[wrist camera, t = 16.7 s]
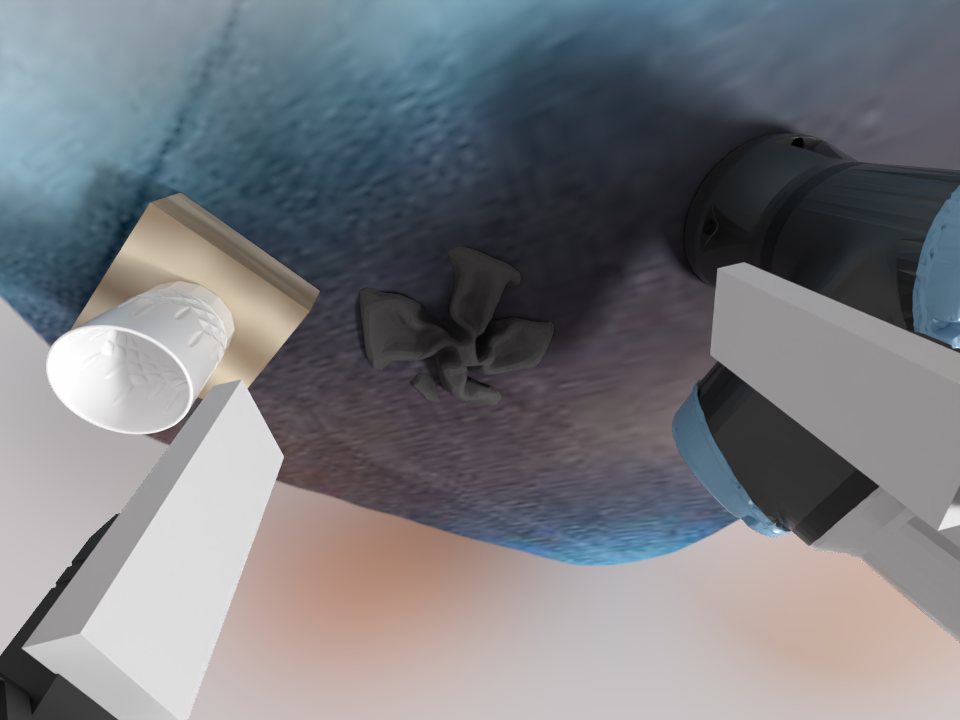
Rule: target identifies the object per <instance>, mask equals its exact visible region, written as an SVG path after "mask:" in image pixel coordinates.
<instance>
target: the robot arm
mask: <svg viewBox="0 0 960 720" xmlns="http://www.w3.org/2000/svg"><path fill="white" fill-rule="evenodd" d="M684 245H685V252H686V256H687V259H688V262H689V264H690V266H691V268H692V270H693V271H694V273H695V274H696V275H697V276H698V277H699V278H700V279H701V280H702V281H703V282H705V283H706V284H708V285H710V286H711V287H713V288H715V289H716V292H715V304H714V316H713V328H712V340H711V351H710V355H711V356H712V357H714V358H715V359H716V360H718V362H717V363H716V364H715V365H714V366H713V368H712V369H711V370H710V371H709V372H708V373H707V375H706V376H705V377H704V378H703V379H702V380H699V381H698V382H697V383H696V384H695V385H694V387H693V391H692V393H691V394H690V395H689V397H688V398H687V399H686V401H685V402H684V403H683V405H682V406H681V407H680V409H679V410H678V411H677V413H676V414H675V416H674V419H673V422H672V432H673V438H674V440H675V443H676V446H677V448H678V450H679V452H680V454H681V456H682V458H683V459H684V461H685V462H686V464H687V466H688V467H689V468H690V470H691V471H692V472H693V474H694V475H695V476H696V478H697V479H698V480H699V481H700V482H701V484H702V485H703V486H704V487H705V488H706V489H707V490H708V491H709V493H710V494H711V495H712V496H713V497H714V498H715V499H716V500H717V501H718V502H719V503H720V504H721V505H722V506H723V507H724V508H726V509H727V510H728V511H729V512H730V513H731V514H733V515H734V516H735V517H737V518H741V519H742V520H743V521H744V522H745V523H746V524H747V526H748V527H750V528H752V529H753V530H755V531H756V532H758V533H760V534H763V535H766V536H769V537H778V536H780V535H787V534H788V533H789V532H790V531H792V532H794V533H795V534H796V535H797V536H798V537H799V538H800V539H802V540H803V541H804V542H805V543H806V544H807V545H809V546H810V547H811V548H812V549H814V550H818V551H829V552H837V553H845V554H849V555H851V556H855V557H857V558H858V559H860V561H862V562H863V563H864V564H865V565H867V566H868V567H869V568H870V569H871V570H873V571H874V572H875V573H876V574H877V575H879V576H880V577H881V578H882V579H884V580H885V581H886V582H887V583H888V584H890V585H891V586H892V587H893V588H894V589H896V590H897V591H898V592H899V593H900V594H902V595H903V596H904V597H905V598H907V599H908V600H909V601H910V602H912V603H913V604H914V605H915V606H916V607H917V608H919V609H920V610H921V611H922V612H924V613H925V614H926V615H927V616H928V617H930V618H931V619H932V620H933V621H934V622H936V623H937V624H938V625H939V626H940V627H942V628H943V629H944V630H945V631H947V632H948V633H949V634H950V635H951V636H953V637H954V638H955V639H956V640H957V641H959V642H960V170H948V169H936V168H923V167H911V166H899V165H887V164H875V163H863V162H858V161H857V160H855V159H853V158H852V157H850V156H848V155H847V154H845V153H844V152H842V151H840V150H839V149H837V148H835V147H834V146H832V145H830V144H829V143H827V142H825V141H824V140H822V139H819V138H817V137H813V136H809V135H804V134H785V133H778V134H770V135H765V136H761V137H758V138H756V139H753V140H751V141H749V142H746V143H745V144H743V145H741V146H739V147H738V148H736V149H735V150H733V151H732V152H731V153H729V154H728V155H727V156H726V157H724V158H723V159H722V160H721V161H720V162H719V163H718V164H717V165H716V166H715V167H714V168H713V170H712V171H711V172H710V173H709V174H708V176H707V177H706V178H705V180H704V181H703V183H702V184H701V186H700V187H699V189H698V191H697V193H696V195H695V197H694V199H693V201H692V203H691V206H690V209H689V212H688V215H687V219H686V224H685V231H684ZM283 458H284V456H283V454H282V452H281V451H280V449H279V447H278V445H277V443H276V441H275V439H274V438H273V436H272V434H271V432H270V430H269V428H268V426H267V425H266V423H265V421H264V419H263V417H262V415H261V413H260V412H259V410H258V408H257V406H256V404H255V402H254V400H253V399H252V397H251V395H250V393H249V391H248V389H247V387H246V386H245V384H244V382H243V380H242V379H241V380H236V381H232V382H228V383H223V384H219V385H215V386H213V387H212V388H211V390H210V391H209V392H208V394H207V395H206V396H205V398H204V399H203V400H202V402H201V403H200V405H199V406H198V407H197V409H196V410H195V411H194V413H193V414H192V416H191V417H190V418H189V420H188V421H187V422H186V424H185V425H184V427H183V428H182V429H181V431H180V432H179V433H178V435H177V436H176V437H175V439H174V440H173V442H172V443H171V444H170V446H169V447H168V448H167V450H166V451H165V453H164V454H163V455H162V457H161V458H160V459H159V461H158V462H157V464H156V465H155V466H154V468H153V469H152V471H151V472H150V473H149V474H148V476H147V477H146V479H145V480H144V481H143V483H142V484H141V486H140V487H139V488H138V490H137V491H136V492H135V494H134V495H133V496H132V498H131V499H130V501H129V502H128V503H127V505H126V506H125V507H124V509H123V510H122V512H121V513H119V514H116V515H115V516H114V517H112V518H111V519H110V520H109V521H108V522H107V523H106V524H105V525H104V526H102V528H100V529H99V530H98V531H97V532H96V533H95V534H94V535H92V536H91V537H90V538H89V540H88V541H87V542H86V544H85V545H84V546H83V548H82V549H81V550H80V552H79V553H78V554H77V555H76V557H75V558H74V559H73V561H72V566H70V567H67V569H66V570H65V572H64V573H63V574H62V575H61V577H60V578H59V579H58V581H57V582H56V587H55V588H52V589H51V590H50V591H49V593H48V594H47V595H46V596H45V598H44V599H43V600H42V602H41V603H40V604H39V606H38V607H37V608H36V609H35V611H34V612H33V614H32V615H31V616H30V617H29V619H28V620H27V621H26V623H25V624H24V625H23V627H22V628H21V629H20V631H19V632H18V633H17V634H16V636H15V637H14V638H13V640H12V641H11V642H10V644H9V645H8V646H7V648H6V649H5V650H4V652H3V653H2V654H1V656H0V720H188V718H189V715H190V713H191V710H192V707H193V705H194V701H195V699H196V696H197V693H198V691H199V688H200V685H201V682H202V680H203V677H204V674H205V672H206V669H207V666H208V664H209V661H210V658H211V655H212V652H213V650H214V647H215V644H216V641H217V639H218V636H219V633H220V631H221V628H222V625H223V622H224V620H225V617H226V614H227V612H228V609H229V606H230V603H231V601H232V598H233V595H234V592H235V589H236V586H237V584H238V581H239V579H240V576H241V573H242V571H243V568H244V565H245V562H246V559H247V557H248V554H249V551H250V549H251V546H252V543H253V540H254V538H255V535H256V532H257V530H258V527H259V524H260V521H261V518H262V516H263V513H264V510H265V508H266V505H267V502H268V499H269V497H270V494H271V491H272V489H273V486H274V483H275V480H276V478H277V475H278V472H279V469H280V467H281V464H282V461H283Z"/></svg>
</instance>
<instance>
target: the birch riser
mask: <svg viewBox="0 0 960 720" xmlns="http://www.w3.org/2000/svg"><path fill="white" fill-rule="evenodd" d="M175 281H183V282H188V283H193V284H198V285H201V286H203V287H205V288H206V289H208V290H209V291H211V292H213V293H214V294H216V295H217V296H219V297H220V298H221V299H222V301H223V302H224V303H225V305H226V306H227V307H228V309H229V310H230V311H231V313H232V317H233V322H234V327H235V331H234V334H233V336H232V339H231V342H230V345H229V346H228V348H227V349H226V351H225V352H224V355H223V357H222V359H221V360H220V362H219V364H218V365H217V367H216V369H215V370H214V372H213V374H212V376H211V377H210V379H209V380H208V382H207V383H206V385H205V386H204V388H203V389H202V391H201V392H200V394H199V395H198V397H199V398H201V399H204V398H205V396H206V395H207V394H208V392H209V391H210V390H211V388H212V387H213V386H215V385H219V384H223V383H228V382H232V381H236V380H241V379H242V380H243V382H244V384H245V386H246V387H247V388H248V387H249V386H250V384H251V383H252V382H253V381H254V379H255V378H256V377H257V376H258V375H259V373H260V372H261V371H262V370H263V368H264V367H265V366H266V365H267V363H268V362H269V361H270V360H271V359H272V357H273V356H274V355H275V354H276V352H277V351H278V350H279V349H280V347H281V346H282V345H283V344H284V342H285V341H286V340H287V339H288V338H289V336H290V335H291V334H292V333H293V331H294V330H295V329H296V328H297V326H298V325H299V324H300V323H301V321H302V320H303V319H304V318H305V317H306V315H307V314H308V313H309V312H310V310H311V308H312V306H313V304H314V302H315V300H316V298H317V296H318V294H319V292H320V291H319V290H318V289H316V288H315V287H314V286H312V285H311V284H309V283H308V282H307V281H305V280H304V279H302V278H301V277H300V276H298V275H297V274H295V273H294V272H292V271H291V270H290V269H288V268H287V267H285V266H284V265H283V264H281V263H280V262H278V261H277V260H276V259H274V258H273V257H271V256H270V255H269V254H267V253H266V252H264V251H263V250H262V249H260V248H259V247H257V246H256V245H254V244H253V243H252V242H250V241H249V240H247V239H246V238H245V237H243V236H242V235H240V234H239V233H238V232H236V231H235V230H233V229H232V228H231V227H229V226H228V225H226V224H225V223H224V222H222V221H221V220H219V219H218V218H217V217H215V216H214V215H212V214H211V213H209V212H208V211H207V210H205V209H204V208H202V207H201V206H200V205H198V204H197V203H195V202H194V201H193V200H191V199H190V198H188V197H187V196H186V195H184V194H183V193H178V194H175V195H172V196H168V197H165V198H162V199H159V200H156V201H153V202H150V203H149V205H148V207H147V208H146V210H145V211H144V213H143V215H142V216H141V218H140V220H139V221H138V223H137V224H136V226H135V228H134V229H133V231H132V232H131V234H130V236H129V237H128V239H127V240H126V242H125V244H124V245H123V247H122V248H121V250H120V252H119V253H118V255H117V256H116V258H115V260H114V261H113V263H112V264H111V266H110V268H109V269H108V271H107V272H106V274H105V276H104V277H103V279H102V280H101V282H100V284H99V285H98V287H97V288H96V290H95V292H94V293H93V295H92V297H91V298H90V300H89V301H88V303H87V305H86V306H85V308H84V309H83V311H82V313H81V314H80V316H79V317H78V319H77V321H76V322H75V324H74V325H73V327H72V329H74V328H76V327H78V326H80V325H82V324H84V323H85V322H87V321H89V320H91V319H93V318H95V317H96V316H98V315H100V314H102V313H104V312H105V311H107V310H109V309H111V308H113V307H115V306H117V305H119V304H121V303H123V302H125V301H127V300H129V299H131V298H132V297H135V296H137V295H139V294H142V293H145V292H147V291H149V290H150V289H152V288H154V287H155V286H157V285H159V284H164V283H170V282H175ZM72 329H71V330H72Z"/></svg>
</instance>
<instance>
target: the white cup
mask: <svg viewBox="0 0 960 720" xmlns="http://www.w3.org/2000/svg"><path fill="white" fill-rule="evenodd" d="M234 331H235V327H234V322H233V317H232V313H231V311H230V310H229V309H228V307H227V306H226V305H225V303H224V302H223V301H222V299H221V298H220V297H219V296H217V295H216V294H214V293H213V292H211V291H209V290H208V289H206V288H205V287H203V286H201V285H198V284H193V283H188V282H183V281H175V282H170V283H164V284H159V285H157V286H155V287H154V288H152V289H150V290H149V291H147V292H145V293H142V294H139V295H137V296H135V297H132V298H131V299H129V300H127V301H125V302H123V303H121V304H119V305H117V306H115V307H113V308H111V309H109V310H107V311H105V312H104V313H102V314H100V315H98V316H96V317H95V318H93V319H91V320H89V321H87V322H85V323H84V324H82V325H80V326H78V327H76V328H74V329H72V330H71V331H69V332H67V333H65V334H64V335H62V336H61V337H59V338H58V339H57V340H56V341H55V342H54V343H53V345H52V346H51V348H50V349H49V352H48V354H47V358H46V375H47V378H48V381H49V384H50V386H51V388H52V389H53V391H54V393H55V394H56V396H57V397H58V398H59V399H60V401H61V402H62V403H63V404H64V405H65V406H66V407H67V408H68V409H70V410H71V411H72V412H74V413H75V414H76V415H78V416H79V417H81V418H82V419H84V420H86V421H88V422H90V423H92V424H94V425H96V426H99V427H101V428H104V429H107V430H111V431H115V432H119V433H126V434H149V433H155V432H159V431H162V430H165V429H168V428H170V427H172V426H174V425H175V424H177V423H178V422H179V421H180V420H182V419H183V418H184V416H185V415H186V414H187V412H188V411H189V409H190V408H191V406H192V405H193V403H194V402H195V400H196V399H197V397H198V395H199V394H200V392H201V391H202V389H203V388H204V386H205V385H206V383H207V382H208V380H209V379H210V377H211V376H212V374H213V372H214V370H215V369H216V367H217V365H218V364H219V362H220V360H221V359H222V357H223V355H224V352H225V351H226V349H227V348H228V346H229V345H230V342H231V339H232V336H233V334H234Z"/></svg>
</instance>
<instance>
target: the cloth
mask: <svg viewBox="0 0 960 720" xmlns="http://www.w3.org/2000/svg"><path fill="white" fill-rule="evenodd" d="M448 257H449V258H450V260H451V263H452V266H453V268H454V273H455V281H454V288H453V292H452V296H451V299H450V305H449V309H448V315H447V317H446V319H445V320H438V319H436V318H434V317H431V316H429V315H428V313H427V312H426V310H425V308H424V306H423V305H421V304H420V303H418V302H416V301H414V300H413V299H410V298H407V297H404V296H403V295H401V294H393V293H383V292H380V291H376V290H373V289H370V288H366V289H363V290H361V291H360V294H359V298H360V309H361V319H362V327H363V334H364V342H365V350H366V355H367V358H368V360H369V362H370V364H371V366H372V367H373V368H374V369H376V370H382V369H384V368H385V367H386V366H387V365H388V364H389V363H391V362H394V361H415V360H423V359H425V358H428V357H430V356H432V357H435V360H436V364H437V371H438V376H439V379H440V382H441V384H442V385H443V386H444V388H445V389H446V390H447V392H450V394H451V395H452V396H454V397H456V398H458V399H459V400H463V401H468V402H471V403H478V404H485V405H492V406H495V405H496V404H497V403H498V401H499V400H500V399H501V395H500V393H499V392H498V391H497V390H496V389H494V388H493V387H491V386H487V385H482V384H480V383H478V382H476V381H474V380H473V379H468V378H467V371H471V372H476V373H481V374H485V375H489V374H499V373H503V372H507V371H513V370H521V369H528V368H533V367H534V366H536V365H537V364H538V363H539V362H540V361H541V359H542V357H543V356H544V354H545V352H546V350H547V347H548V345H549V343H550V341H551V339H552V337H553V334H554V325H553V324H552V323H551V321H549V322H534V321H529V320H525V319H520V318H511V317H510V318H506V319H502V320H498V321H494V320H491V319H492V317H493V314H494V311H495V309H496V307H497V305H498V303H499V300H500V298H501V296H502V293H503V290H504V288H505V287H508V286H516V285H518V284H519V283H520V280H521V275H520V274H519V272H518V271H517V270H516V269H515V268H513V267H512V266H510V265H509V264H507V263H505V262H503V261H500V260H497V259H494V258H492V257H490V256H488V255H486V254H484V253H481V252H479V251H476V250H473V249H470V248H467V247H456V248H453V249H451V250H449V255H448ZM410 382H411V383H412V384H413V385H414V387H415V388H416V389H417V390H418V391H419V392H420V393H421V394H422V395H423V396H424V397H425V398H426V400H431V401H435V402H440V399H439V395H438V391H437V387H436V386H435V384H434V378H432V377H431V376H429V375H428V374H426V373H424V372H423V373H419V374H417V375H416V376H415V377H414V378H413V379H412V380H411V381H410Z"/></svg>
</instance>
